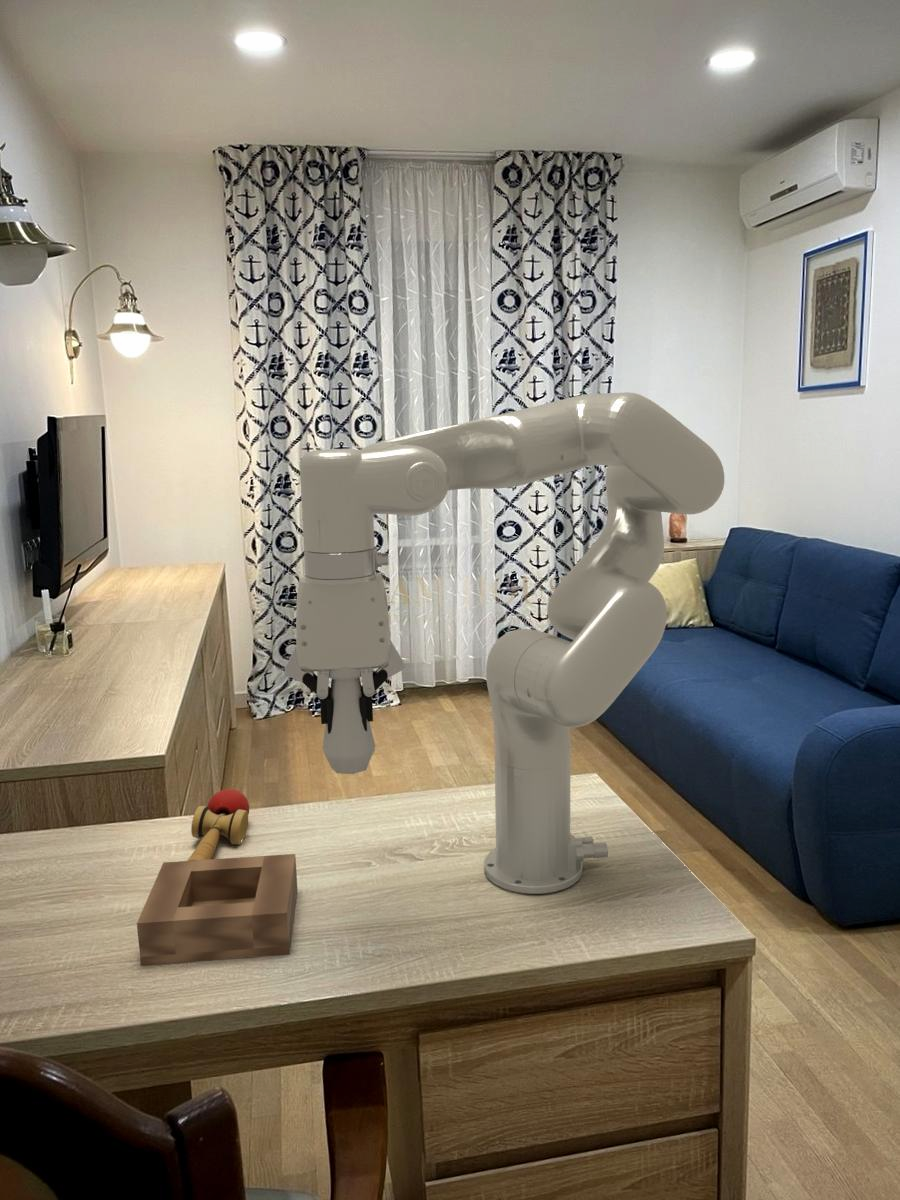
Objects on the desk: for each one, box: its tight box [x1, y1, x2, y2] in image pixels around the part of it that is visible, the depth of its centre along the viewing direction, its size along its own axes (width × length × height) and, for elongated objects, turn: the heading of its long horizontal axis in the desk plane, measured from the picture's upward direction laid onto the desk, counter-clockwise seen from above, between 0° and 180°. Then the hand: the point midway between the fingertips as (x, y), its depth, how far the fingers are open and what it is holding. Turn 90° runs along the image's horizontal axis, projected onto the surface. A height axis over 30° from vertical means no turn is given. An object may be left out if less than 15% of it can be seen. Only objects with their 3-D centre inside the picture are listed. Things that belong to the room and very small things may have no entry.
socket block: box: [136, 853, 298, 966], centre depth 109 cm, size 16×14×5 cm
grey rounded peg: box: [322, 666, 376, 775], centre depth 104 cm, size 6×6×13 cm
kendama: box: [186, 788, 250, 861], centre depth 129 cm, size 8×6×18 cm
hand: (347, 727), depth 104 cm, fingers closed on grey rounded peg, 3 cm apart
